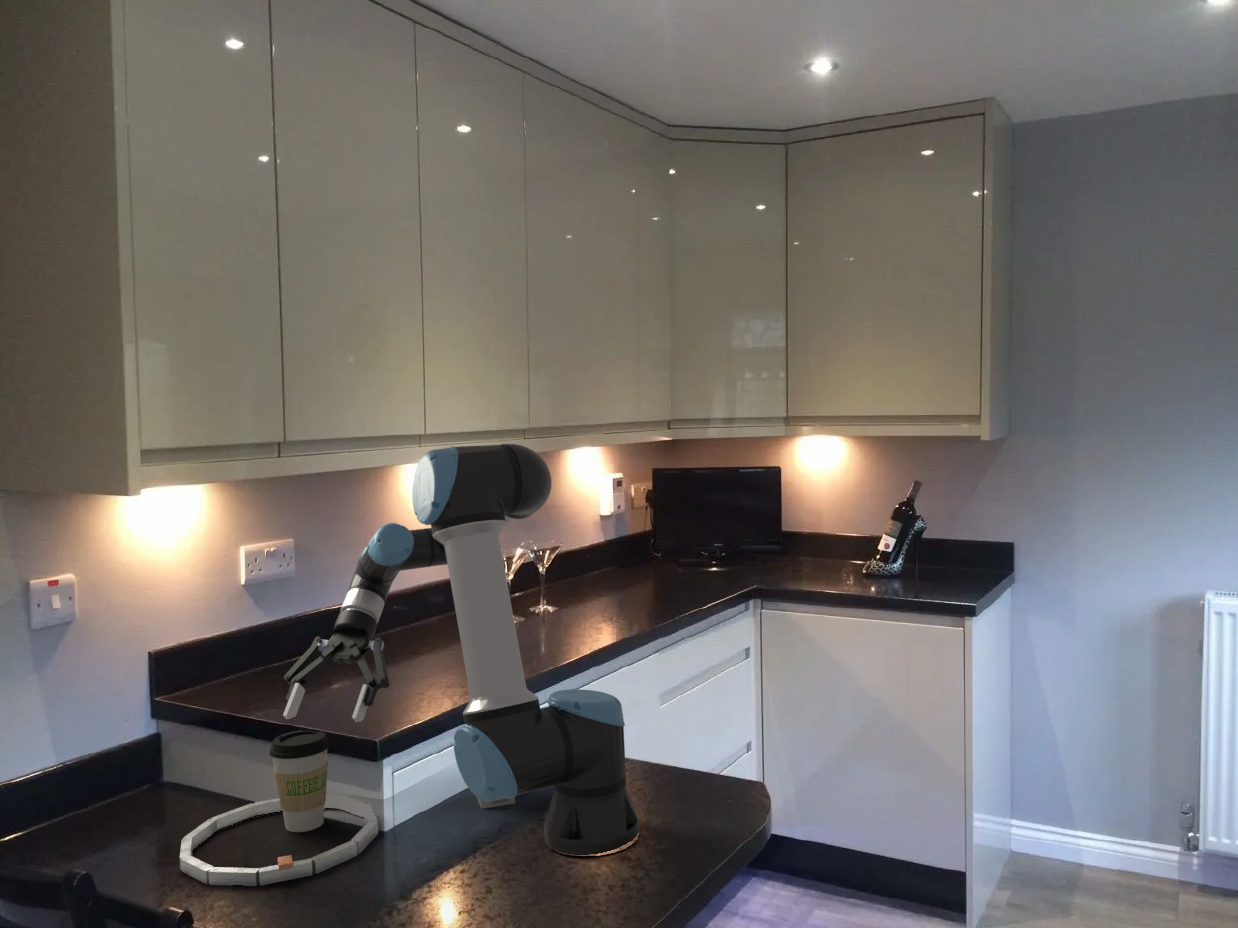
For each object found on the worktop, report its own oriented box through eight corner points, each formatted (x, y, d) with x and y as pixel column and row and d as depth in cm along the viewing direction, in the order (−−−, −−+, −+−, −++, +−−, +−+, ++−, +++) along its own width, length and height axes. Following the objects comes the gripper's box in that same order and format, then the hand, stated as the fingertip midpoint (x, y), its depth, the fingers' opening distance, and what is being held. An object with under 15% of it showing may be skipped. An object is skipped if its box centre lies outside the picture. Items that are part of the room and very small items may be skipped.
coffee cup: (317, 837, 164) (311, 747, 163) (262, 835, 166) (256, 746, 165) (345, 813, 174) (339, 728, 173) (293, 811, 176) (287, 727, 175)
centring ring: (389, 861, 154) (388, 843, 154) (176, 904, 143) (175, 885, 143) (364, 794, 182) (363, 778, 182) (185, 825, 172) (184, 809, 171)
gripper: (425, 629, 191) (394, 732, 177) (308, 628, 197) (269, 727, 183) (411, 607, 185) (378, 711, 171) (291, 607, 191) (250, 708, 178)
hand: (321, 720), depth 177 cm, fingers open, 13 cm apart
